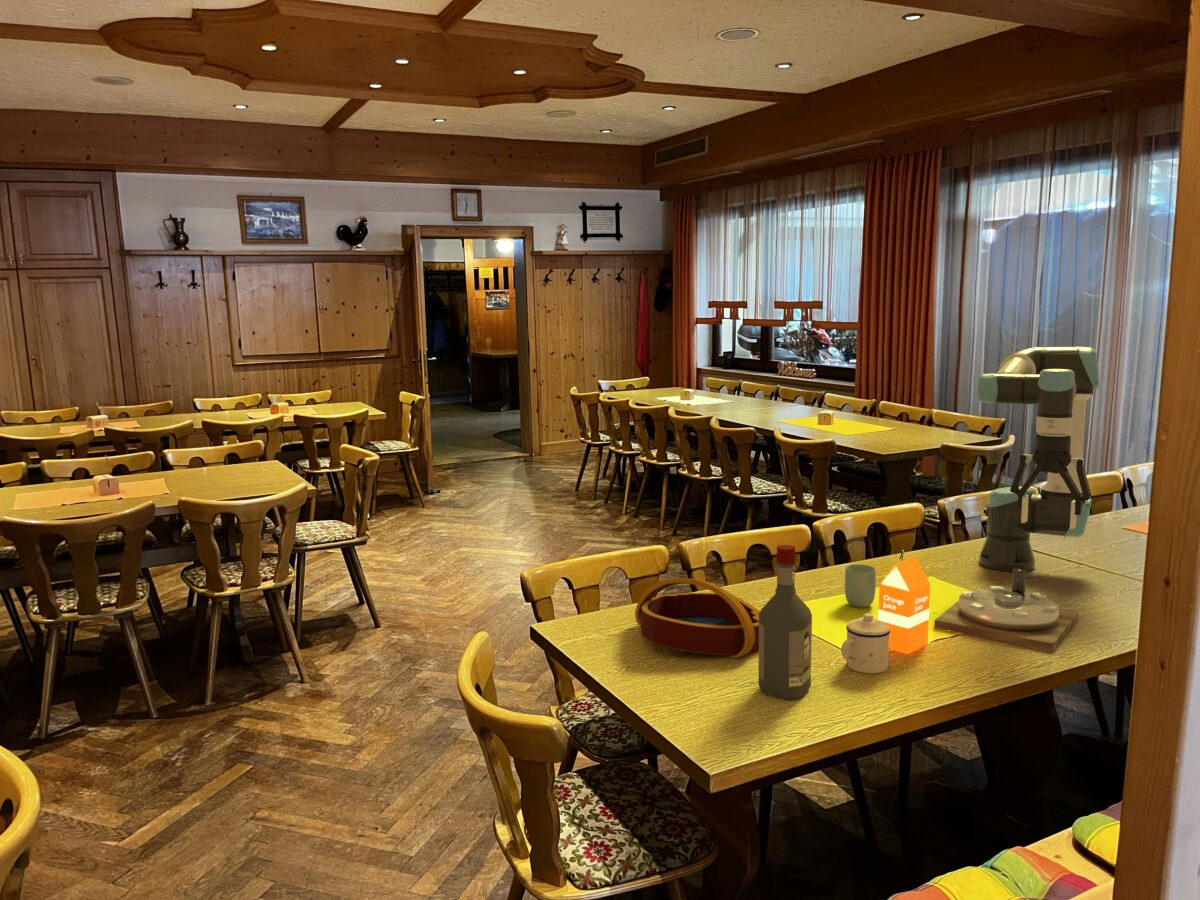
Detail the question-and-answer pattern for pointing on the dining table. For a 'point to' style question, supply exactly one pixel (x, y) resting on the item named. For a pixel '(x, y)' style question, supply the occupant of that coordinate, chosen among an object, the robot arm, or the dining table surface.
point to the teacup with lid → (867, 645)
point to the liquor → (785, 635)
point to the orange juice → (905, 606)
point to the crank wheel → (1009, 607)
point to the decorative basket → (698, 620)
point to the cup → (860, 585)
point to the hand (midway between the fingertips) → (1048, 524)
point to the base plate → (1031, 639)
